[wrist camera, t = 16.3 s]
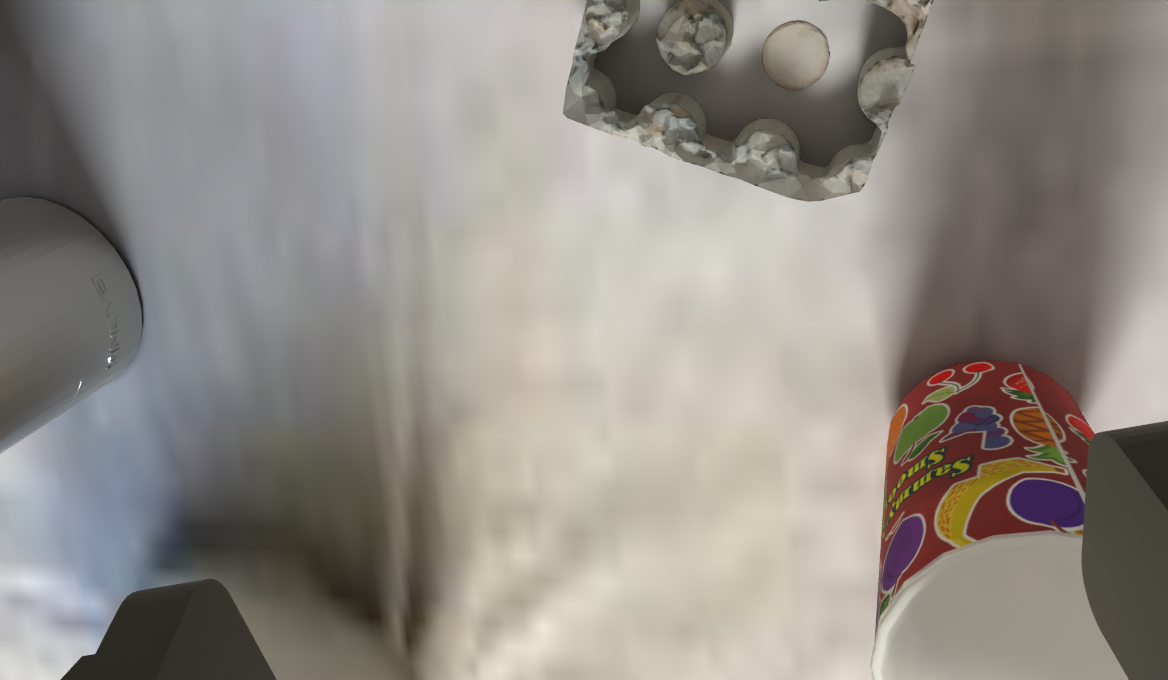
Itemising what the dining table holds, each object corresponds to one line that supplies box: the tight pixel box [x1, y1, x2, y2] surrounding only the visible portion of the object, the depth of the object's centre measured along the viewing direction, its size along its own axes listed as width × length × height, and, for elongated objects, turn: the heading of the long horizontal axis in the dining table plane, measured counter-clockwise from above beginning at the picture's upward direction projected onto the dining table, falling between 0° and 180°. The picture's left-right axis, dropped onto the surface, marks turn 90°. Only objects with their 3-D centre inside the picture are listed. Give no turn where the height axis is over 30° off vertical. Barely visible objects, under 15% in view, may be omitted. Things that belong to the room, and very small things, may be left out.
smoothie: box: [870, 360, 1129, 680], centre depth 29 cm, size 8×8×20 cm
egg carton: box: [563, 0, 933, 202], centre depth 33 cm, size 11×8×4 cm
